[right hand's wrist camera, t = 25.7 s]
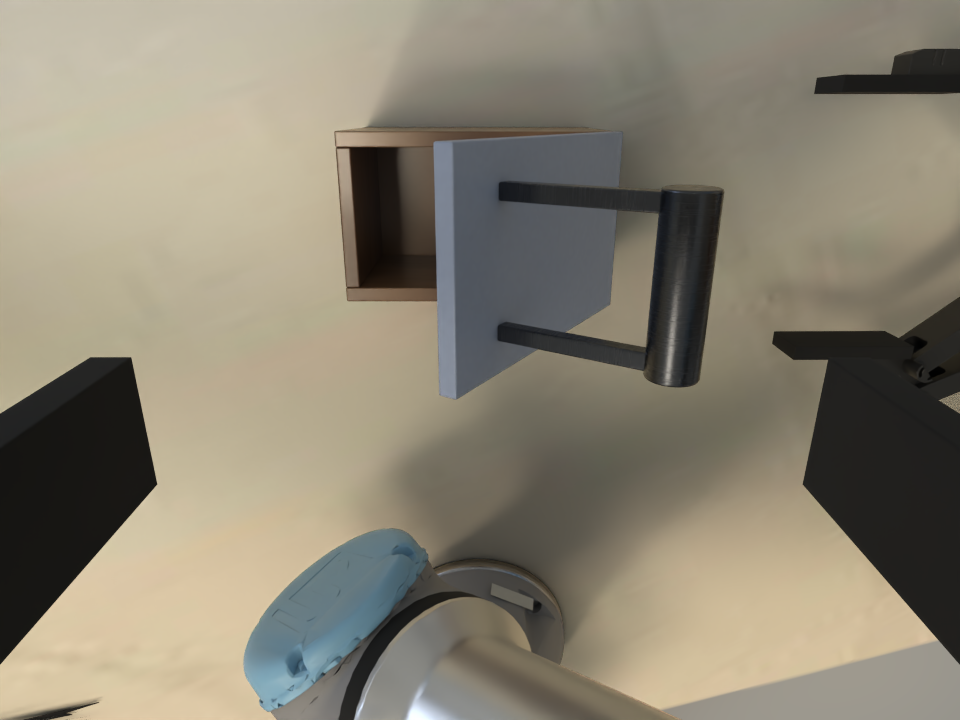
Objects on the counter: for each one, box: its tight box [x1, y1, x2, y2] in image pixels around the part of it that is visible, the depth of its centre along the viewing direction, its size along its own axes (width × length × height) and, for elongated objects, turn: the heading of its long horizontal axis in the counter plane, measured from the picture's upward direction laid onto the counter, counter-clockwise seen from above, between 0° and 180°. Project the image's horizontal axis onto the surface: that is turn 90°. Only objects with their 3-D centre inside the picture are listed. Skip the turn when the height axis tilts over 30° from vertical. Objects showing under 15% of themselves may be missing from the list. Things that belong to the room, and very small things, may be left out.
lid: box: [434, 132, 724, 399], centre depth 27 cm, size 16×9×9 cm
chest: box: [335, 127, 613, 301], centre depth 41 cm, size 15×9×10 cm, turn 90°
